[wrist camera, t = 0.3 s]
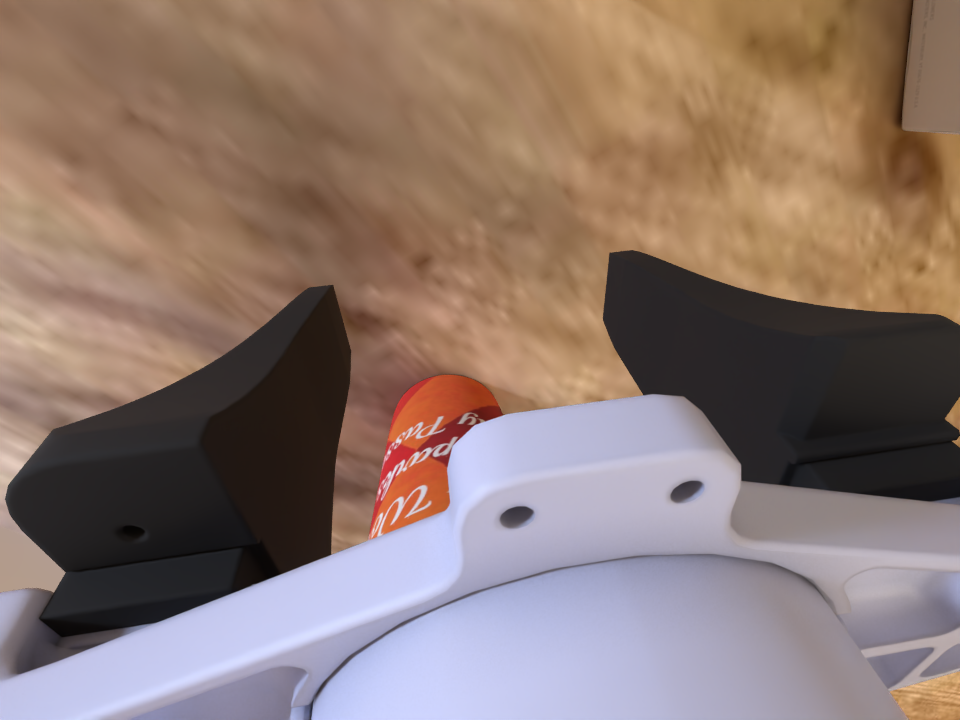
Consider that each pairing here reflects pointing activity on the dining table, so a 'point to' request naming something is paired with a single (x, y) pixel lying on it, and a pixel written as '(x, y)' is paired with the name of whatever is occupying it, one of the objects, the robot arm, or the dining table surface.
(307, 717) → the robot arm
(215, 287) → the dining table surface
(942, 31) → the tea box
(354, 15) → the dining table surface
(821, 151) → the dining table surface
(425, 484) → the coffee cup
